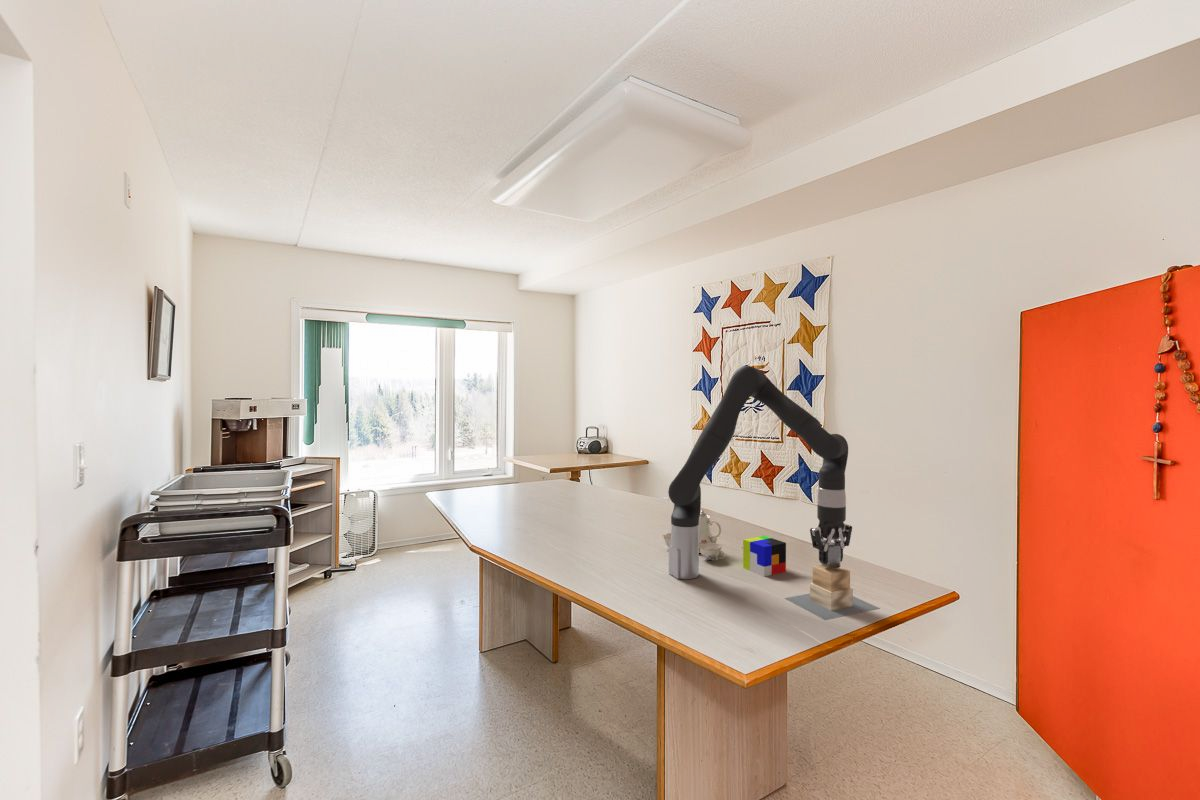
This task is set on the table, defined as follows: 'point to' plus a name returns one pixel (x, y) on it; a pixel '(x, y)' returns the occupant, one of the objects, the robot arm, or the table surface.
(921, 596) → the table surface
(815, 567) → the top block
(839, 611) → the slate mat
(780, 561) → the puzzle toy
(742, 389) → the robot arm
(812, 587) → the base block
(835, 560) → the metal cylinder
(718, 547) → the chinaware
